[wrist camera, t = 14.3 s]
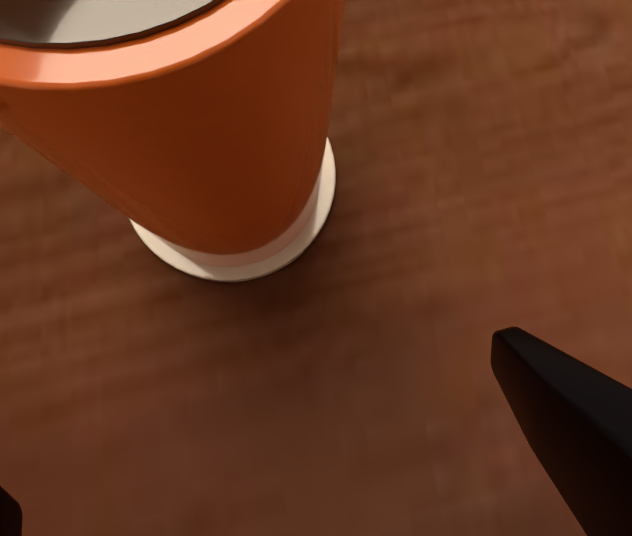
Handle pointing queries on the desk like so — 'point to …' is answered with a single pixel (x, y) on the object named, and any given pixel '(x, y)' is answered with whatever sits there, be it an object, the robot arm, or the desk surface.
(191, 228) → the cup
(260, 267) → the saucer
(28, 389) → the desk surface
